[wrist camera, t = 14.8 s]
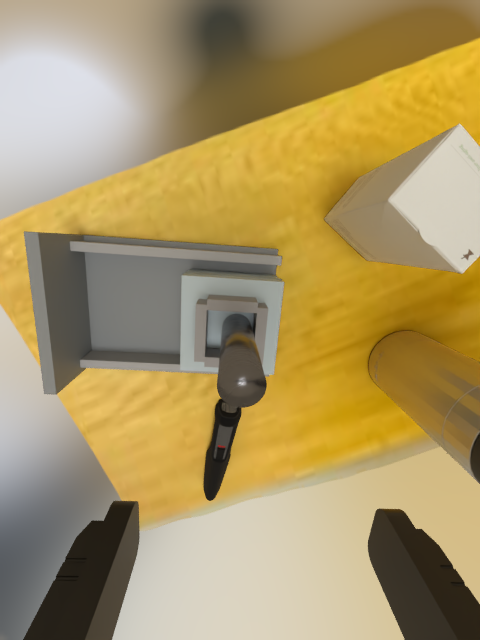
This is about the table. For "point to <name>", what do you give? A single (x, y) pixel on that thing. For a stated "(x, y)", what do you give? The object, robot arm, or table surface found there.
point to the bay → (118, 299)
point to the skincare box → (417, 206)
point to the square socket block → (227, 314)
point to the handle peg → (239, 364)
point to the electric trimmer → (220, 447)
